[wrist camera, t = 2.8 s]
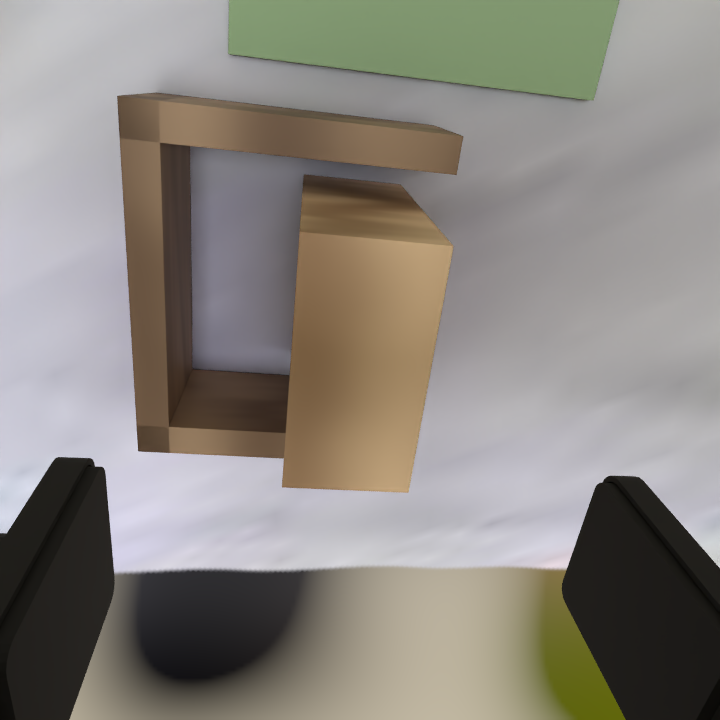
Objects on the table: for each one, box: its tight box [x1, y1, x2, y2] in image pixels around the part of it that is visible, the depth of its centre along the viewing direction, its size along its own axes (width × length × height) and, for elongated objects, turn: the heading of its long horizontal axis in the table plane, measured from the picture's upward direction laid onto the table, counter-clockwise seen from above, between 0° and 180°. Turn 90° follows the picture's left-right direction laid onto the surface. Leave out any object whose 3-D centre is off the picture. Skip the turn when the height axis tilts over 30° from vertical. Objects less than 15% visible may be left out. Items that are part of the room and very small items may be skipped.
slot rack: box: [117, 93, 463, 458], centre depth 23 cm, size 11×13×5 cm
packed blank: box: [282, 174, 453, 493], centre depth 21 cm, size 4×8×10 cm, turn 174°
